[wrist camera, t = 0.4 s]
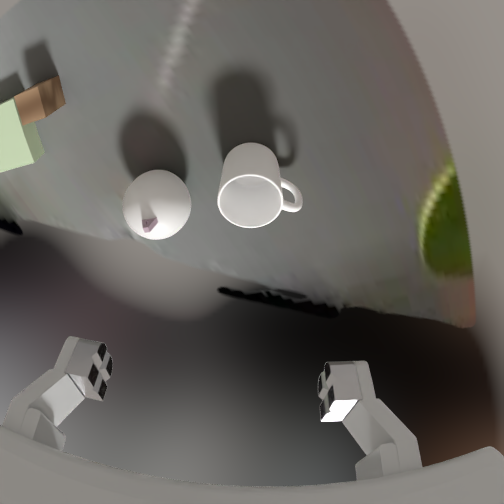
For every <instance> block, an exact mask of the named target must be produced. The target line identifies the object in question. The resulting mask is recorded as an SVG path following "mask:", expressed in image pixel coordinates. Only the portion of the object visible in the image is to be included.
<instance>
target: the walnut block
mask: <svg viewBox="0 0 504 504" xmlns="http://www.w3.org/2000/svg"><path fill="white" fill-rule="evenodd" d="M14 98H15V102H16V105H17V109H18V112H19V115H20V119H21V122H22V125H26V124H28V123H31V122H34V121H37V120H40V119H43V118H46V117H47V116H49V115H50V114H52V113H53V112H54V111H56V110H57V109H59V108H60V107H62V106H63V105H65V104H66V103H65V99H64V95H63V91H62V87H61V83H60V78H59V76H56V77H53V78H51V79H48V80H45V81H43V82H40V83H38V84H36V85H34V86H32V87H30V88H28V89H26V90H25V91H23V92H21V93H19V94H18V95H16V96H14Z"/></svg>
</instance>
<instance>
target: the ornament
mask: <svg viewBox="0 0 504 504" xmlns="http://www.w3.org/2000/svg"><path fill="white" fill-rule="evenodd" d="M190 211H191V198H190V194H189V191H188V189H187V187H186V185H185V184H184V182H183V181H182V180H181V179H180V178H179V177H178V176H176V175H175V174H173V173H171V172H169V171H166V170H152V171H148V172H145V173H143V174H141V175H140V176H138V177H137V178H136V179H135V180H134V181H133V182H132V183H131V184H130V185H129V187H128V188H127V190H126V192H125V195H124V198H123V213H124V216H125V219H126V221H127V223H128V225H129V226H130V227H131V229H132V230H133V231H135V232H136V233H137V234H139V235H140V236H142V237H145V238H148V239H154V240H157V239H164V238H167V237H170V236H172V235H173V234H175V233H176V232H178V231H179V230H180V229H181V228H182V227H183V225H184V224H185V223H186V221H187V219H188V217H189V215H190Z"/></svg>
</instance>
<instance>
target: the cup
mask: <svg viewBox="0 0 504 504" xmlns="http://www.w3.org/2000/svg"><path fill="white" fill-rule="evenodd" d="M282 187H284V188H286V189H288V190H289V191H291V192H292V193H293V195H294V197H295V204H294V203H290V202H288V201H285V200H283V194H282ZM302 203H303V200H302V195H301V193H300V191H299V189H298V188H297V187H296V186H295V185H294V184H292V183H291V182H289V181H287V180H285V179H283V178H280V172H279V165H278V161H277V158H276V156H275V155H274V153H273V152H272V151H271V150H270V149H269V148H267V147H266V146H264V145H261V144H258V143H244V144H241V145H238V146H236V147H235V148H233V149H232V150H231V151H230V152H229V153H228V155H227V156H226V158H225V161H224V165H223V170H222V176H221V182H220V187H219V193H218V207H219V210H220V212H221V213H222V215H223V216H224V217H225V218H226V219H227V220H228V221H230V222H231V223H233V224H235V225H237V226H241V227H246V228H255V227H261V226H264V225H266V224H268V223H270V222H272V221H273V220H274V219H275V218H276V217H277V216H278V215H279V213H280V212H281V209H283V210H286V211H289V212H296V211H298V210H300V209H301V207H302Z"/></svg>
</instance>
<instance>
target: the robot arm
mask: <svg viewBox="0 0 504 504" xmlns="http://www.w3.org/2000/svg"><path fill="white" fill-rule="evenodd" d="M106 350H107V347H106V345H105V343H101V342H96V341H91V340H85V339H81V338H77V337H71V336H69V337H68V339H67V340H66V341H65V344H64V346H63V348H62V350H61V353H60V355H59V358H58V359H57V362H56V364H55V366H54V369H53V370H52V369H50V370H49V371H47V372H46V373H45V374H43V375H42V376H41V377H39V378H38V379H37V380H35V381H34V382H33V383H32V384H30V385H29V386H28V387H26V388H25V389H24V390H23V391H21V392H20V393H19V394H18V395H16V396H15V397H14V398H13V399H12V401H11V403H10V406H9V409H8V411H7V414H6V416H5V419H4V422H3V425H2V426H1V425H0V504H504V456H503V455H502V454H501V453H500V452H498V451H497V450H496V449H495V448H493V447H486V448H482V449H480V450H477V451H474V452H471V453H469V454H466V455H463V456H460V457H457V458H454V459H451V460H447V461H444V462H441V463H437V464H434V465H430V466H427V467H423V468H422V463H421V458H420V453H419V448H418V444H417V439H416V437H415V436H414V435H413V434H412V433H411V432H410V431H409V429H408V428H407V427H406V426H405V425H404V424H403V423H402V422H401V421H400V420H399V419H398V418H397V417H396V416H395V415H394V414H393V413H392V412H391V411H390V409H389V408H387V406H386V405H385V404H384V403H383V402H382V401H381V400H380V399H376V397H375V392H374V388H373V384H372V379H371V375H370V370H369V366H368V363H367V362H366V361H345V362H344V361H343V362H327V363H326V364H325V366H324V369H325V370H324V372H322V373H321V375H320V377H319V381H318V395H319V397H320V398H321V399H322V400H323V401H322V403H321V405H320V414H321V421H342V422H343V424H344V425H345V426H346V428H347V429H348V430H349V432H350V433H351V434H352V436H353V437H354V439H355V440H356V441H357V443H358V444H359V445H360V447H361V448H362V449H363V451H364V452H365V453H366V455H367V456H366V457H365V458H363V459H362V460H360V461H359V462H358V463H357V464H356V465H355V466H356V477H357V481H351V482H343V483H334V484H324V485H309V486H287V487H252V486H230V485H216V484H206V483H196V482H188V481H181V480H174V479H168V478H162V477H156V476H150V475H146V474H141V473H136V472H132V471H127V470H123V469H119V468H115V467H111V466H107V465H104V464H100V463H97V462H93V461H90V460H86V459H84V458H80V457H77V456H74V455H71V454H68V453H66V452H63V447H64V443H65V439H66V436H65V434H64V433H63V432H62V431H61V430H59V429H58V428H57V426H58V425H59V424H60V423H61V422H62V421H63V420H64V419H65V418H66V417H67V416H68V415H69V414H70V412H72V411H73V409H75V408H76V407H77V406H78V405H79V403H80V402H81V401H82V400H83V399H84V397H87V398H91V399H96V400H100V401H103V400H104V396H105V393H106V390H107V385H106V382H105V381H106V380H108V379H109V378H110V377H111V373H112V368H113V362H112V358H111V355H110V354H108V353H107V352H106Z"/></svg>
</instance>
